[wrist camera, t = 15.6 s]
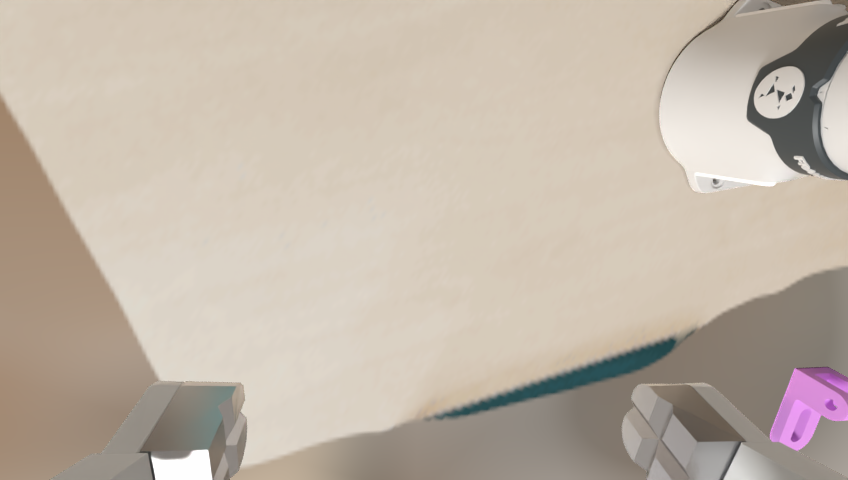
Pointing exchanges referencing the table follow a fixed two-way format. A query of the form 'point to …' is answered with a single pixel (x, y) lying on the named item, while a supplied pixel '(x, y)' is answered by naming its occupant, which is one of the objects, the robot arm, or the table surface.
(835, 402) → the bracket
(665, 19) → the table surface
